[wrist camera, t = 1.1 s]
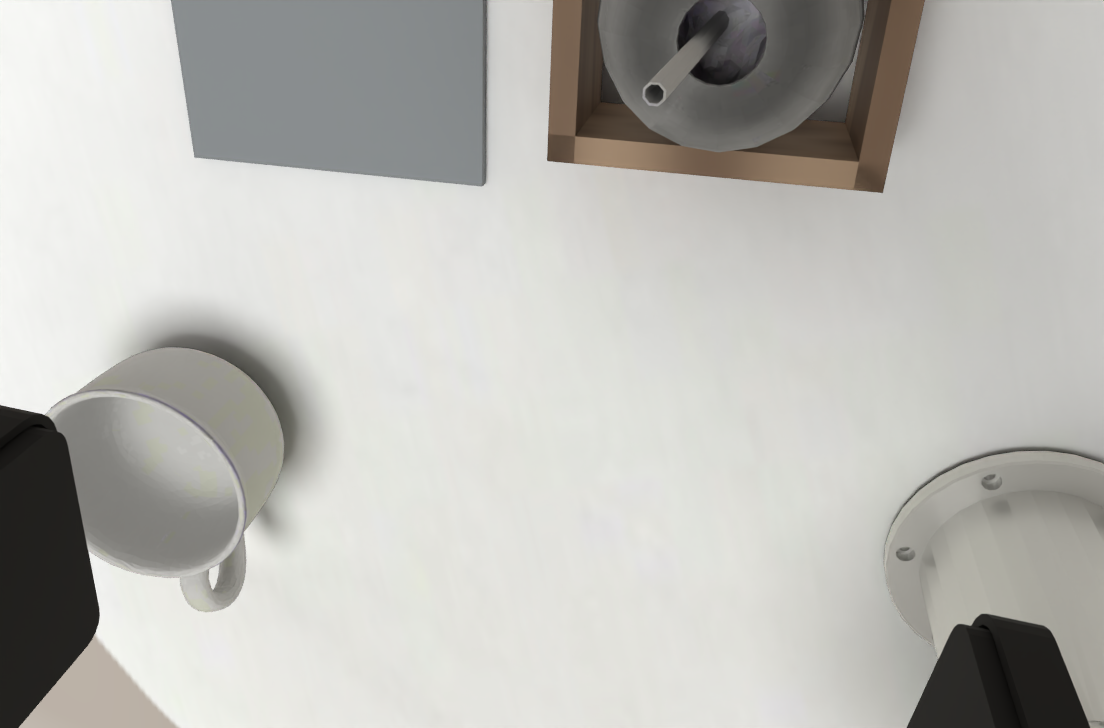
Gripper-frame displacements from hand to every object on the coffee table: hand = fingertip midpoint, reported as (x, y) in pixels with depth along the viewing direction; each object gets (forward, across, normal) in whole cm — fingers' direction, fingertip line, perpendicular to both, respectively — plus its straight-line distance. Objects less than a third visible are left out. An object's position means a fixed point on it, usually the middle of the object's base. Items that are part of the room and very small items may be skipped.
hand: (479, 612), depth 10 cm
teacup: (+32, +21, +24) cm, 45 cm away
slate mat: (+32, +15, 0) cm, 35 cm away
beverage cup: (+32, -2, -3) cm, 32 cm away
